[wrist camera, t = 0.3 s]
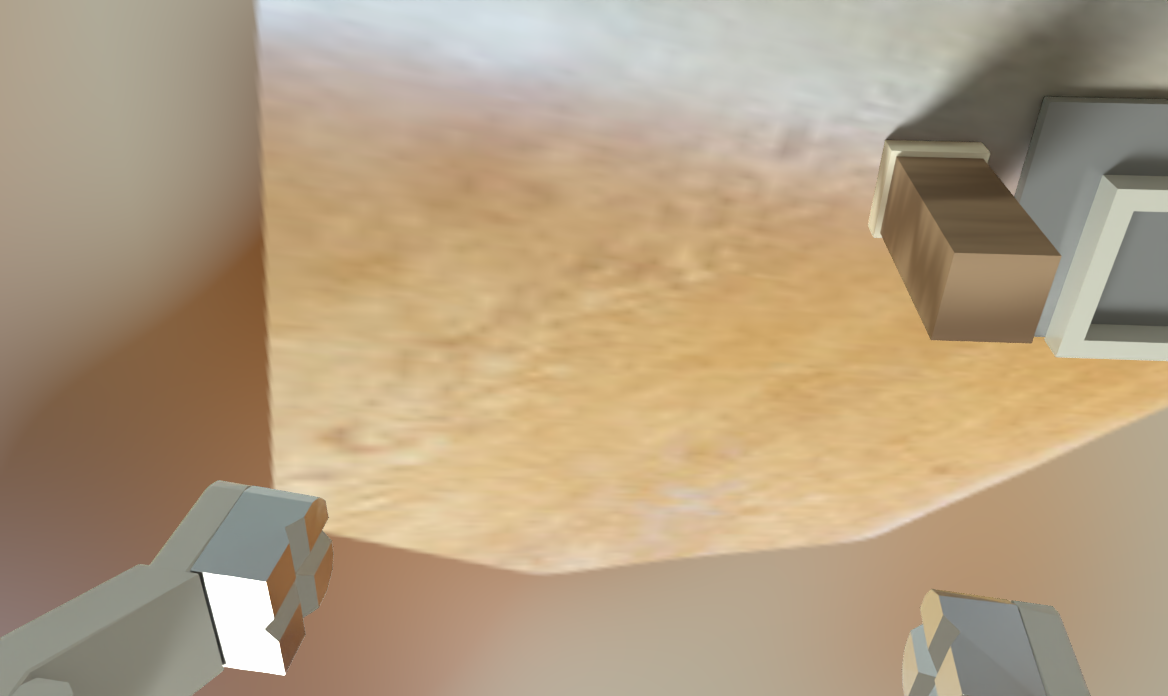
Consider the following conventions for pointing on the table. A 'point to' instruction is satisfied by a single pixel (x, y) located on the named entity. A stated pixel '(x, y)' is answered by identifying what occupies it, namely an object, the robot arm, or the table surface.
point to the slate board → (1102, 224)
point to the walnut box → (961, 242)
